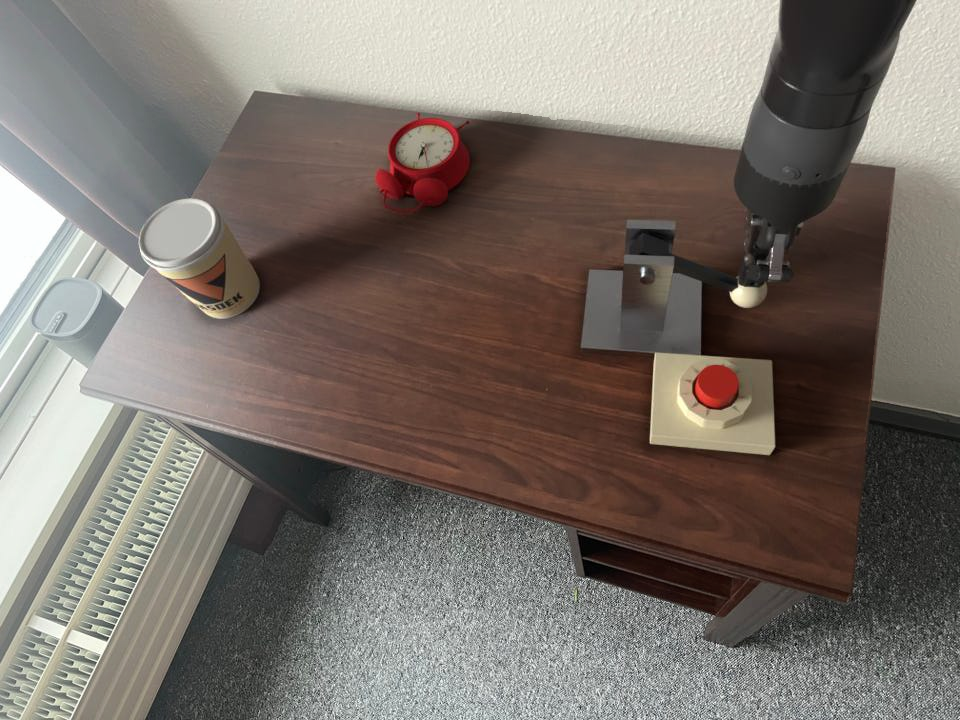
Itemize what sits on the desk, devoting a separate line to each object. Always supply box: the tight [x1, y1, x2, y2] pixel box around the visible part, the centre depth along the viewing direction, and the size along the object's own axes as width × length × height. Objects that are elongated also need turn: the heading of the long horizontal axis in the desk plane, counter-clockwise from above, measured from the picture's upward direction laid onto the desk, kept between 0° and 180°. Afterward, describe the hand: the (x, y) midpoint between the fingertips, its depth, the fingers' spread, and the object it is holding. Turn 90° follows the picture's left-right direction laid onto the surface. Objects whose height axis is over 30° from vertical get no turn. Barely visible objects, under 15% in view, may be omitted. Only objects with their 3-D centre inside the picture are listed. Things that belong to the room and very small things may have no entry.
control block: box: [649, 352, 776, 456], centre depth 65 cm, size 11×9×4 cm
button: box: [695, 365, 739, 408], centre depth 63 cm, size 4×4×2 cm
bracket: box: [580, 219, 703, 359], centre depth 67 cm, size 12×10×13 cm
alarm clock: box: [374, 112, 471, 214], centre depth 85 cm, size 10×6×15 cm
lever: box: [629, 233, 768, 309], centre depth 64 cm, size 14×3×3 cm, turn 81°
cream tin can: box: [138, 197, 261, 320], centre depth 77 cm, size 9×9×12 cm
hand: (750, 279), depth 64 cm, fingers closed
